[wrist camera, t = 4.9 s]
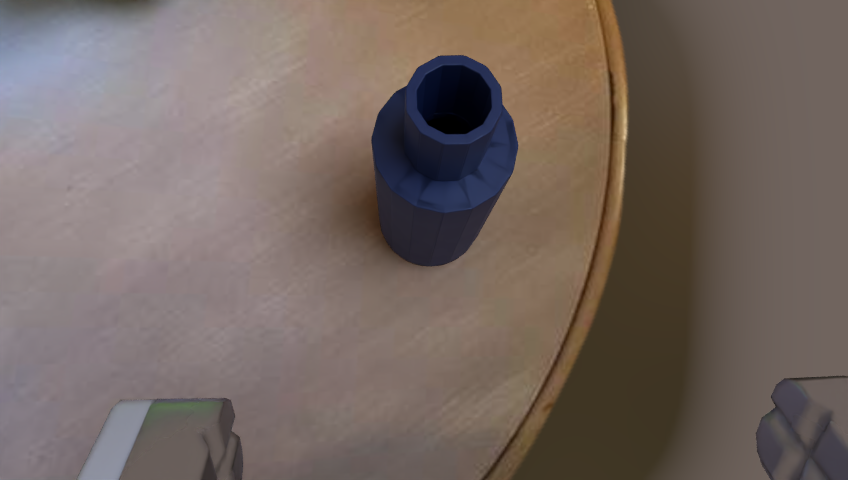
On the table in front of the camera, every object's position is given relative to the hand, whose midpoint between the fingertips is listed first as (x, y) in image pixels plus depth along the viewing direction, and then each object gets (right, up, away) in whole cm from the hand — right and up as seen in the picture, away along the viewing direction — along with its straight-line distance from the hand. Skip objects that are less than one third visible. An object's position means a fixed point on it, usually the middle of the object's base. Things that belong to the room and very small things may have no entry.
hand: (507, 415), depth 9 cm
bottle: (-1, +4, +28) cm, 28 cm away
